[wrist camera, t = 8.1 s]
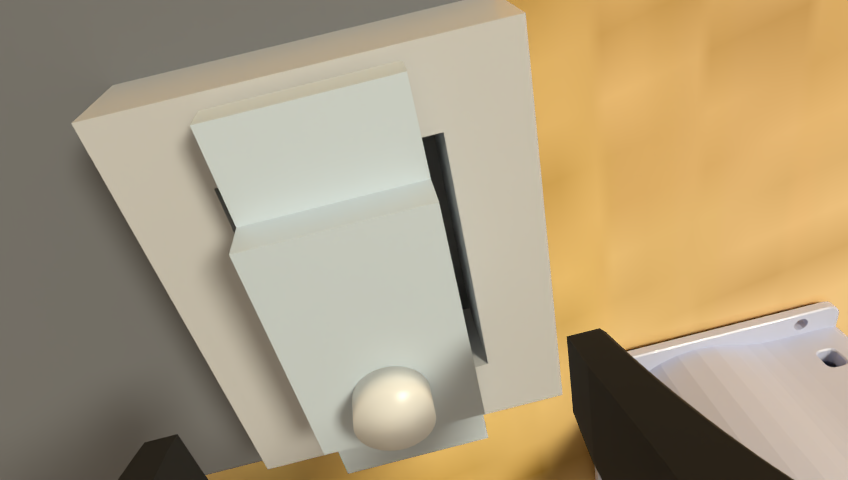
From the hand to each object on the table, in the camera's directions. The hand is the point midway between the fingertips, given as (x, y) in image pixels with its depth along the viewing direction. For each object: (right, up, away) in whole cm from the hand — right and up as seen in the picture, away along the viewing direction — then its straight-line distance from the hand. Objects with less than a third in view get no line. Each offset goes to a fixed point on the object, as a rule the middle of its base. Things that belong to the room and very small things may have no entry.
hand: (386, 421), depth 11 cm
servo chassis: (-6, +3, +6) cm, 9 cm away
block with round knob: (-1, +3, +6) cm, 7 cm away
